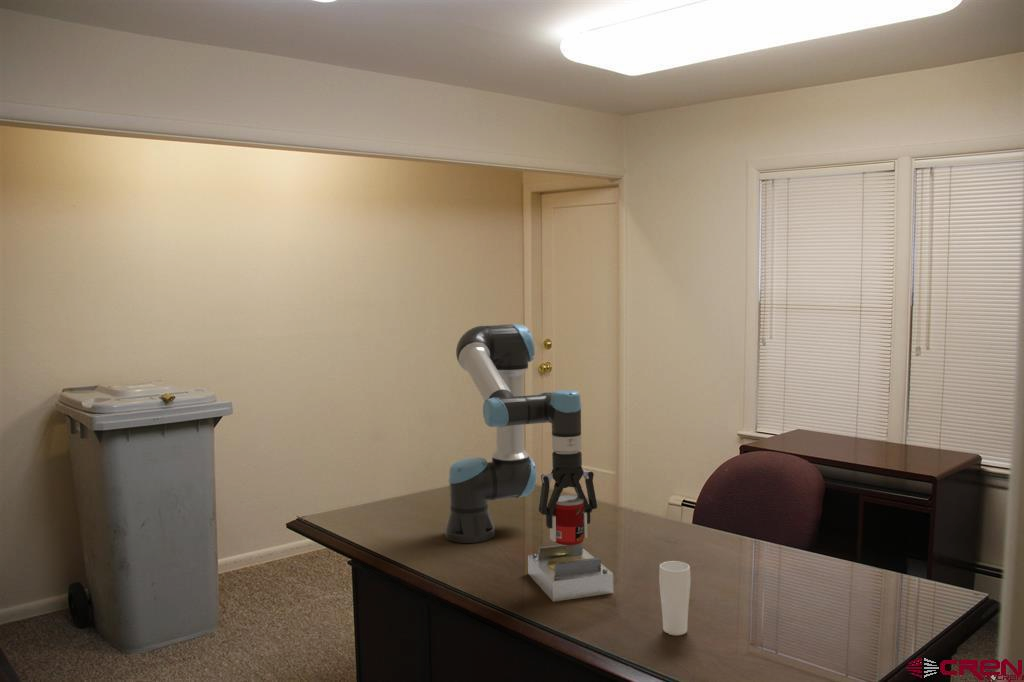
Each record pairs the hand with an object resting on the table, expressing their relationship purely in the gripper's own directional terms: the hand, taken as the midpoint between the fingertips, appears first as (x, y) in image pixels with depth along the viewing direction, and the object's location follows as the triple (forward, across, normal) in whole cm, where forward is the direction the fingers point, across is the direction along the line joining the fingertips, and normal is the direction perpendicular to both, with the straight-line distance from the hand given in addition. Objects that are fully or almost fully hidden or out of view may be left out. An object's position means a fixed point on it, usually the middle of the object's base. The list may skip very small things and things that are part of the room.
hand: (568, 537), depth 213 cm
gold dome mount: (+12, 0, 0) cm, 12 cm away
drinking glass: (+12, +12, -35) cm, 39 cm away
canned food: (+1, 0, 0) cm, 1 cm away
